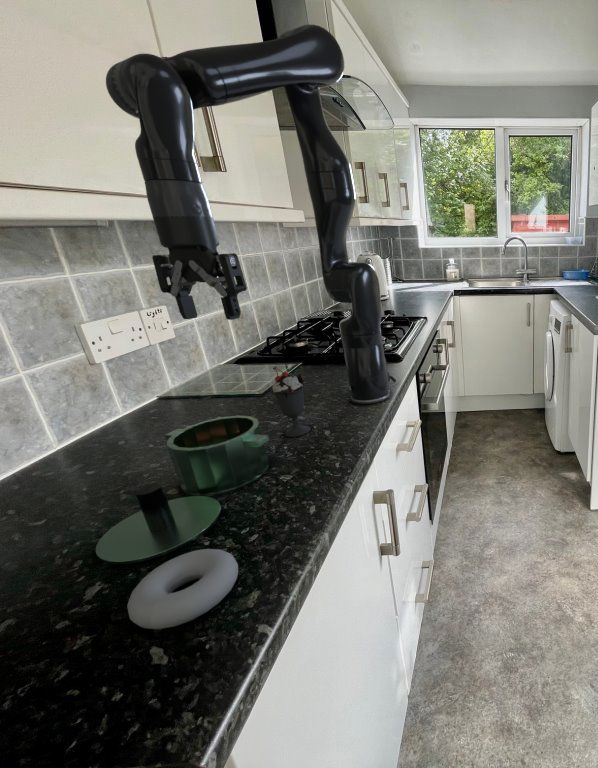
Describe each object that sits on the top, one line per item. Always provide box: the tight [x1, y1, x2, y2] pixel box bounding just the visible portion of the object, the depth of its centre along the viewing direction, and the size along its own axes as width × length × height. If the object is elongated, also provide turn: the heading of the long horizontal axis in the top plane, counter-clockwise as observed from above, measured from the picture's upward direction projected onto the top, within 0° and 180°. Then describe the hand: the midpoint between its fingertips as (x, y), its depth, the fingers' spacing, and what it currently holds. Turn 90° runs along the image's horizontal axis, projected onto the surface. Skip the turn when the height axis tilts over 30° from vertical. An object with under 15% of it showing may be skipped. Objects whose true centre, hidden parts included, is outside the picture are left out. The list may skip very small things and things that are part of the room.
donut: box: [126, 548, 239, 630], centre depth 46 cm, size 10×4×10 cm
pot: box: [164, 415, 270, 497], centre depth 70 cm, size 13×18×8 cm
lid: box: [95, 482, 222, 565], centre depth 56 cm, size 14×14×7 cm
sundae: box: [269, 366, 312, 438], centre depth 84 cm, size 7×7×15 cm
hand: (211, 318), depth 69 cm, fingers open, 8 cm apart
